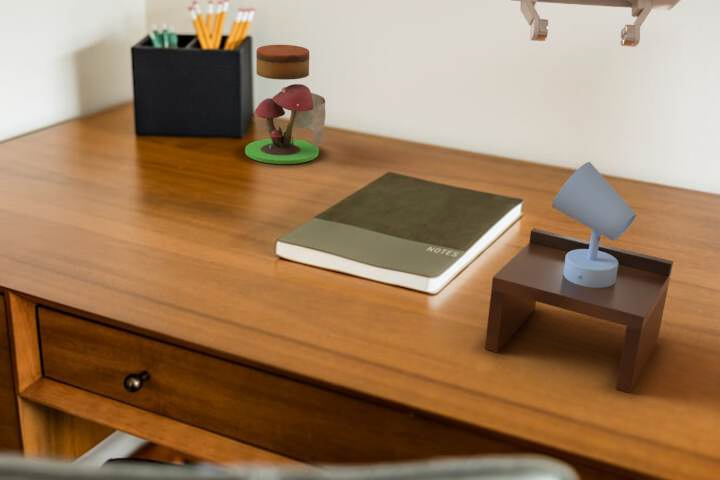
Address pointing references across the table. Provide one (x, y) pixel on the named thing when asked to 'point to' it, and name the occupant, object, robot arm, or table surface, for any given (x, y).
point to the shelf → (582, 296)
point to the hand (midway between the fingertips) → (584, 41)
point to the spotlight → (593, 225)
